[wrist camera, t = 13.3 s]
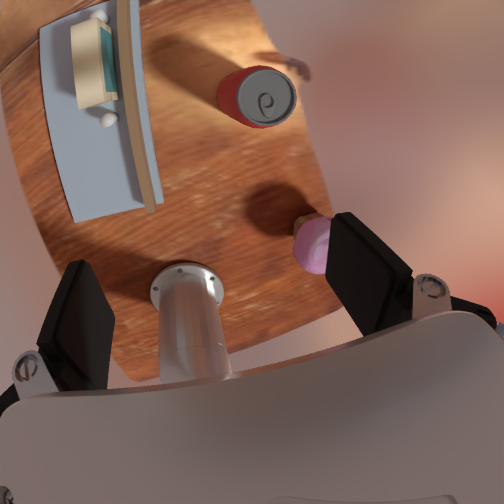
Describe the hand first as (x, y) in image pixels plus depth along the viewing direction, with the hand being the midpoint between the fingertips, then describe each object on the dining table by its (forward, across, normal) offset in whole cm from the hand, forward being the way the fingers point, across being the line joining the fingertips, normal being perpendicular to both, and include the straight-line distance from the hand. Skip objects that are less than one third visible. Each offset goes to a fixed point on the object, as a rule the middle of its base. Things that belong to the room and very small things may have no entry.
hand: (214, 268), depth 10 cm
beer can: (+28, -7, -5) cm, 30 cm away
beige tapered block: (+27, +10, -12) cm, 31 cm away
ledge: (+28, +12, -7) cm, 32 cm away
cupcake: (+28, -16, +16) cm, 36 cm away
